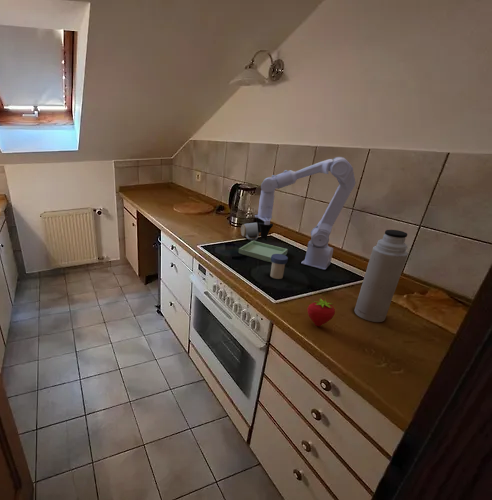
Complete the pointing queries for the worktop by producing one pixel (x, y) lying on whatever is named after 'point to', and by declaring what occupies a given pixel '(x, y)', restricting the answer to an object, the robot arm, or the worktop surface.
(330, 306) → the strawberry
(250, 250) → the tray
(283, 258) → the jar lid
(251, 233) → the ceramic mug
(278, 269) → the jar
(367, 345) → the worktop surface
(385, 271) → the thermos bottle
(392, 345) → the worktop surface
